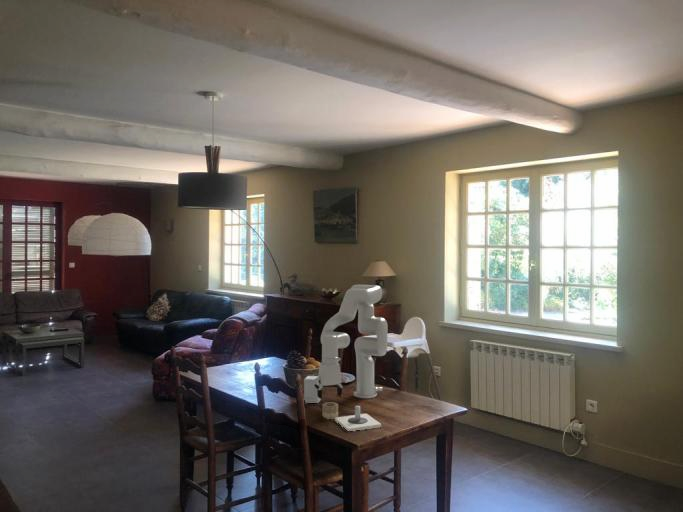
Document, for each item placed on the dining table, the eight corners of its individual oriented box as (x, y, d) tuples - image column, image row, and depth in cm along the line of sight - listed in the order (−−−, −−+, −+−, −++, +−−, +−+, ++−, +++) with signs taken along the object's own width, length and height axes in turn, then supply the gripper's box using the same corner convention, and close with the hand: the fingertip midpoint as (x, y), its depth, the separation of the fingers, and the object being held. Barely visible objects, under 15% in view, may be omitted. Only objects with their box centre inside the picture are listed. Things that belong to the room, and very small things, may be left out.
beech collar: (334, 413, 263) (334, 401, 262) (339, 418, 256) (339, 405, 256) (320, 415, 260) (320, 403, 260) (325, 420, 254) (325, 407, 253)
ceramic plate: (315, 375, 338) (315, 370, 338) (356, 376, 335) (356, 371, 335) (308, 386, 313) (308, 381, 312) (352, 387, 310) (352, 382, 310)
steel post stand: (366, 416, 258) (366, 399, 258) (381, 427, 244) (381, 409, 243) (334, 420, 252) (334, 403, 252) (348, 432, 238) (348, 414, 237)
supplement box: (317, 404, 278) (317, 379, 277) (303, 403, 279) (303, 379, 279) (321, 400, 285) (321, 376, 285) (307, 399, 287) (307, 375, 286)
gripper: (343, 358, 264) (343, 393, 264) (309, 360, 257) (309, 396, 257) (349, 361, 257) (349, 397, 257) (315, 363, 250) (314, 400, 250)
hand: (329, 397), depth 257 cm, fingers open, 9 cm apart
